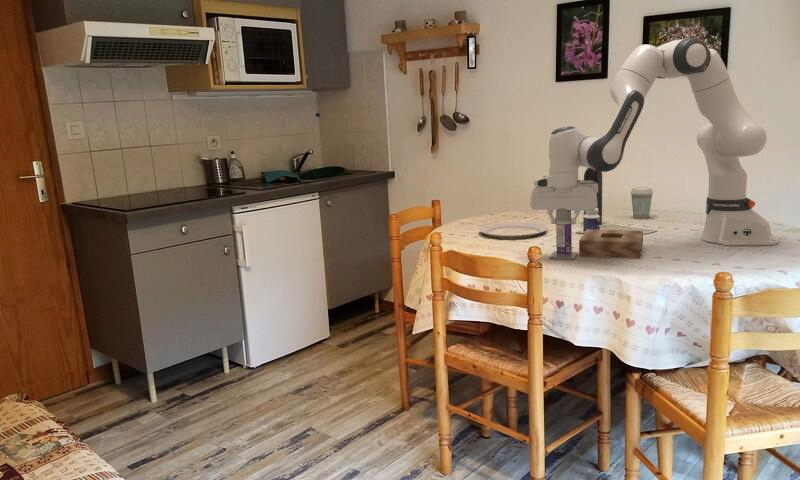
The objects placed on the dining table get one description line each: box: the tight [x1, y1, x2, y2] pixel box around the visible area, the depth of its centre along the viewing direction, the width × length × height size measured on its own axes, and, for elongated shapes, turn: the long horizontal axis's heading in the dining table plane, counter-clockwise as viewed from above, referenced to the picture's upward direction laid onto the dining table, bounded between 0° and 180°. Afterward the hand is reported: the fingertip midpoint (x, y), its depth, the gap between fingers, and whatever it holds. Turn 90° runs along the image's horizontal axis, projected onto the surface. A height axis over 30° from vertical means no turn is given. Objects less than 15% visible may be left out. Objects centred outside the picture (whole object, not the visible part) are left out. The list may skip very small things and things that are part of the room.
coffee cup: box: [630, 186, 654, 220], centre depth 252 cm, size 8×8×12 cm
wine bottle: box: [583, 167, 603, 225], centre depth 243 cm, size 6×6×30 cm
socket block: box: [578, 229, 644, 259], centre depth 202 cm, size 18×18×5 cm
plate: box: [478, 221, 548, 239], centre depth 239 cm, size 26×26×2 cm
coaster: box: [549, 250, 579, 261], centre depth 199 cm, size 8×8×1 cm
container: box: [555, 209, 573, 256], centre depth 197 cm, size 5×5×15 cm
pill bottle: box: [582, 208, 601, 235], centre depth 225 cm, size 6×6×10 cm
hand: (563, 223), depth 196 cm, fingers closed on container, 5 cm apart
